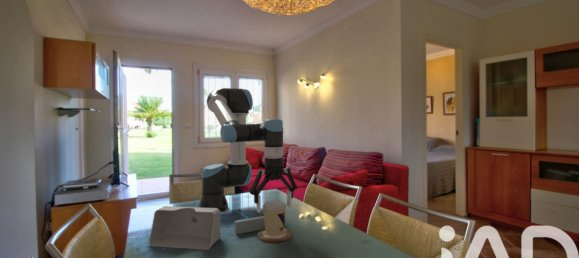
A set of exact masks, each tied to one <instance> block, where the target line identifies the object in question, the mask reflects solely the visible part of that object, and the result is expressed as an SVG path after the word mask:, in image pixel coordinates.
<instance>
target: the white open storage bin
mask: <svg viewBox="0 0 579 258" xmlns="http://www.w3.org/2000/svg"><path fill="white" fill-rule="evenodd" d="M151 224H152V225H151V231H150V234H149V242H148V244H149V246H150V247H161V248H162V247H164V248H177V249H193V250H196V249H197V250H207V251H208V250H210V249H211V248H212V247H213V246H214V244H216V243H217V242H218V241H219V239H221V235H222V233H221V211H220V210H219V209H218V208H199V206H198V207H195V206H176V205H175V206H171V205H169V206H167V205H165V206H162V207H160V208H159V209H157V210H154V213H153V218H152V223H151Z"/></svg>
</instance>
